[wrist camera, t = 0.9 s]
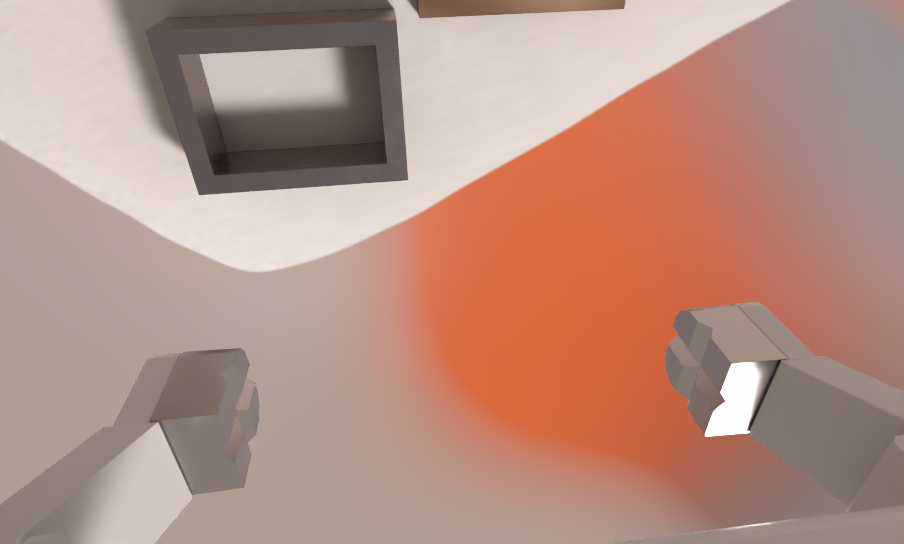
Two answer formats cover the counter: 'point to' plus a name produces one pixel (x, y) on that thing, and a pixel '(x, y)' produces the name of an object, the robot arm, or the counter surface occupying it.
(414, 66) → the counter surface
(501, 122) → the counter surface
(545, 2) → the keeper
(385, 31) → the grey open tray
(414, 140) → the counter surface
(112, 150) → the counter surface
